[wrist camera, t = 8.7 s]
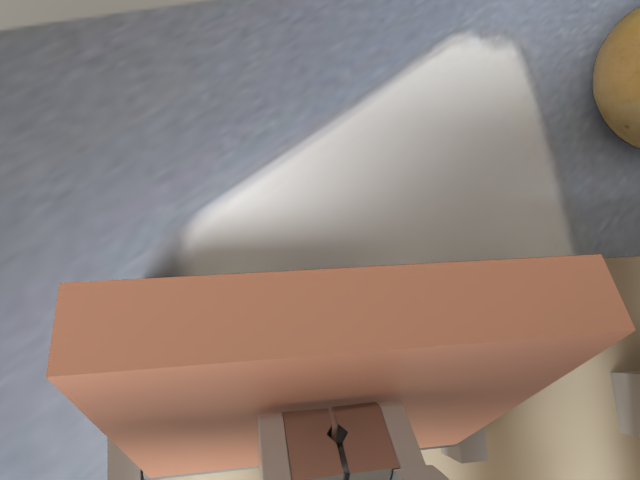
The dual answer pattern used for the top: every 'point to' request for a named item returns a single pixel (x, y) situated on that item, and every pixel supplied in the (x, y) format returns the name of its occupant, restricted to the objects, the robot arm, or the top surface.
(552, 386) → the switch board
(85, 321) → the salmon orange square plate
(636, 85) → the onion
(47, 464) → the top surface
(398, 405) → the robot arm
